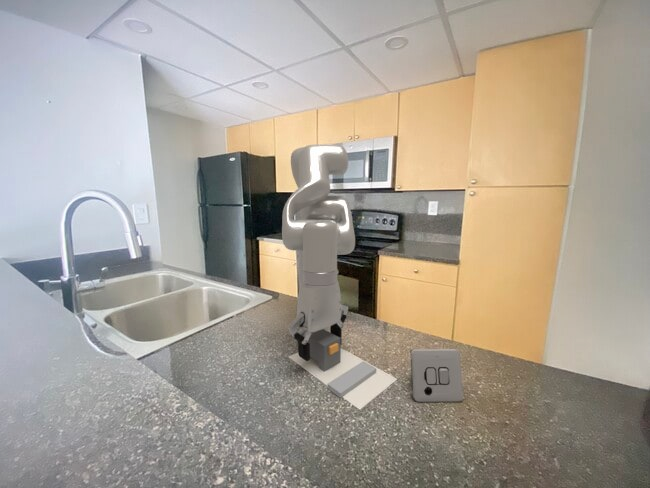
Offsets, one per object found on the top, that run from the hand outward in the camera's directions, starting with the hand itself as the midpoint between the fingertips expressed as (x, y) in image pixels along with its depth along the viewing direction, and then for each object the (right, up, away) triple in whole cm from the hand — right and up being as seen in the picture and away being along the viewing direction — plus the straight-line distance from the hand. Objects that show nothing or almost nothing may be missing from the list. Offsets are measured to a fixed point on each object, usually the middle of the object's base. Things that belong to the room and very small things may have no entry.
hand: (320, 350), depth 60 cm
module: (0, -3, +1) cm, 3 cm away
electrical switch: (+22, -5, -8) cm, 24 cm away
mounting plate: (+4, -4, -2) cm, 6 cm away
